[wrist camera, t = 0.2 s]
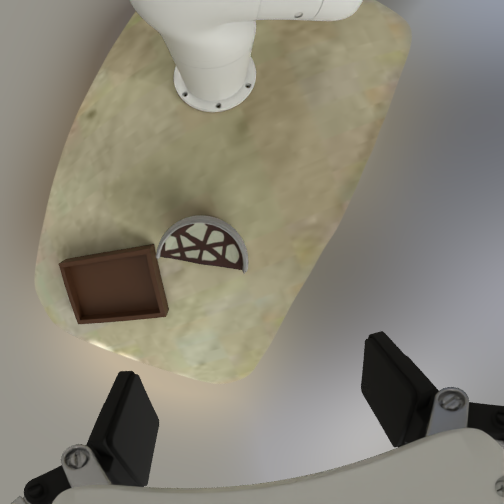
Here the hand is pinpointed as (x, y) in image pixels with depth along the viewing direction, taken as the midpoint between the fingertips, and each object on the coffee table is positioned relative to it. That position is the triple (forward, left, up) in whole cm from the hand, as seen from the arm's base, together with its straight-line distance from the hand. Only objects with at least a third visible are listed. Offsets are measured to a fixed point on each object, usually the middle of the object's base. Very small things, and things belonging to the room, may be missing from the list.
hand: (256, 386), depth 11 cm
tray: (+7, -22, -36) cm, 43 cm away
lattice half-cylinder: (0, -4, -36) cm, 37 cm away
